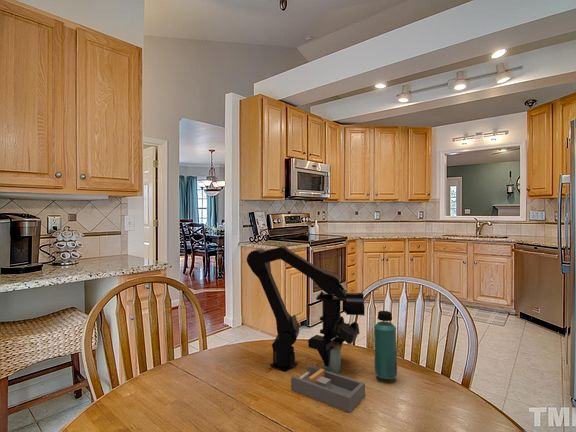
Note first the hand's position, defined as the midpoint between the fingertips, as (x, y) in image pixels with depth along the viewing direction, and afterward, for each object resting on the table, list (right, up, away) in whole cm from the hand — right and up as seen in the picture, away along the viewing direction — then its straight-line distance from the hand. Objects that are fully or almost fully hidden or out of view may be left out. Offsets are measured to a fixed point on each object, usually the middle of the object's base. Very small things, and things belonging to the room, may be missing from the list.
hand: (331, 362), depth 104 cm
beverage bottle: (+15, -2, -6) cm, 17 cm away
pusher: (-5, -1, -13) cm, 14 cm away
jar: (0, -2, 0) cm, 2 cm away
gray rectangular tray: (-3, -2, -14) cm, 14 cm away
